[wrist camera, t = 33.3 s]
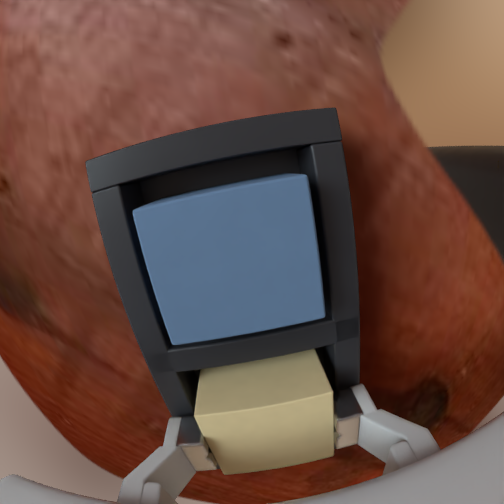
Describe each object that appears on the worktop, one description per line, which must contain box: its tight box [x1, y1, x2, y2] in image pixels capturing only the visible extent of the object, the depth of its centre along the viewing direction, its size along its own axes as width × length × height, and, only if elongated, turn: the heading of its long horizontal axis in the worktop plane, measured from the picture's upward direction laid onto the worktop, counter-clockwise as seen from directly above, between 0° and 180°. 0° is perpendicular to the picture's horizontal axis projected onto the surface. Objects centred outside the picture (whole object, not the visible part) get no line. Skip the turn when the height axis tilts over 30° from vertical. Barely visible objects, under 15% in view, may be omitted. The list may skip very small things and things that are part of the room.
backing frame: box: [85, 108, 360, 469], centre depth 11 cm, size 8×14×3 cm, turn 11°
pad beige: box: [194, 349, 334, 475], centre depth 10 cm, size 4×4×3 cm
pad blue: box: [133, 173, 326, 345], centre depth 9 cm, size 4×4×3 cm
